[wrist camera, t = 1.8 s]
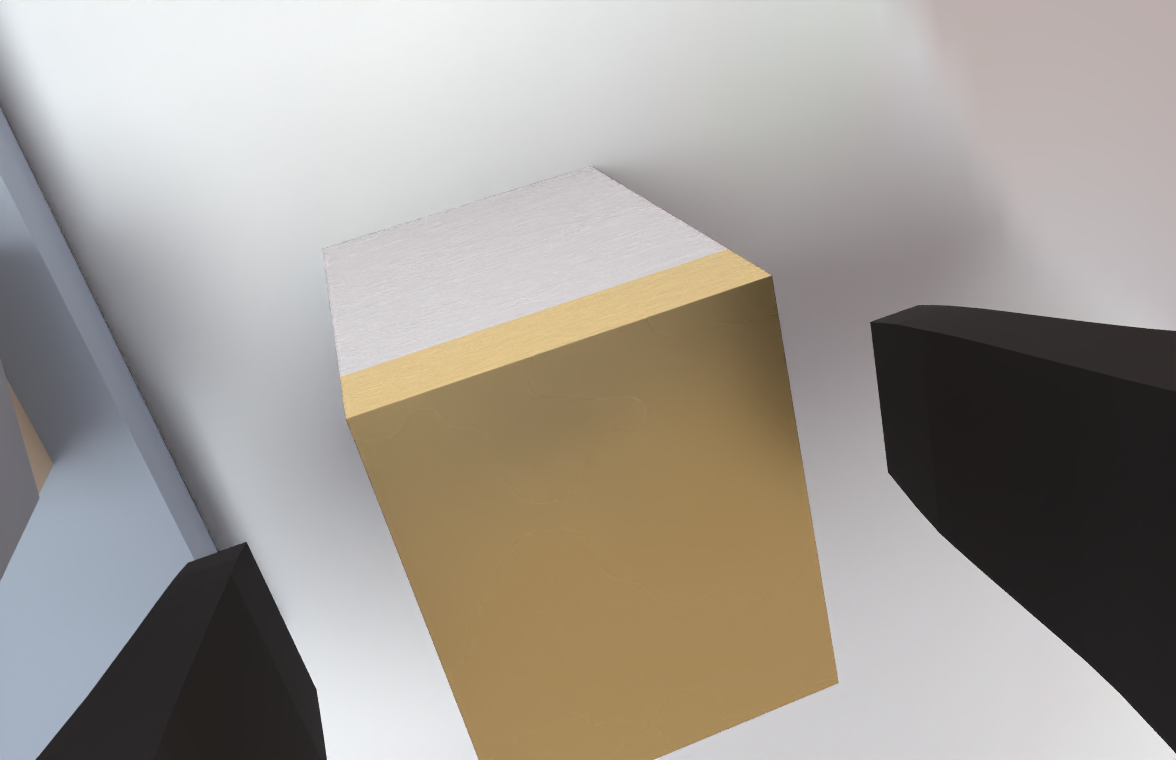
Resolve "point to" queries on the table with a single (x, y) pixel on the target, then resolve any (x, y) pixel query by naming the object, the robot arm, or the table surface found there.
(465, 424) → the tan and white block
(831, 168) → the table surface
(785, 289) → the table surface
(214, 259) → the table surface
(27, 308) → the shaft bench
